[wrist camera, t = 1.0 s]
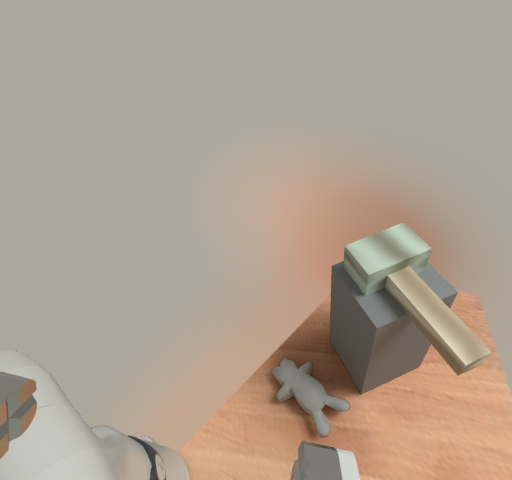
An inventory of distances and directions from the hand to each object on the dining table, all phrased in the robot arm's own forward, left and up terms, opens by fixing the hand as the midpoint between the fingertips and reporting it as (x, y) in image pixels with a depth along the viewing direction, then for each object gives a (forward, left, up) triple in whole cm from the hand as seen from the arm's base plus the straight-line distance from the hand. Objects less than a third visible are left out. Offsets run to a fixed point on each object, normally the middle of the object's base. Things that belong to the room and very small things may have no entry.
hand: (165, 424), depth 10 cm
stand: (+27, +19, -58) cm, 66 cm away
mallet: (+27, +14, -32) cm, 44 cm away
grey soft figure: (+11, +17, -58) cm, 61 cm away
